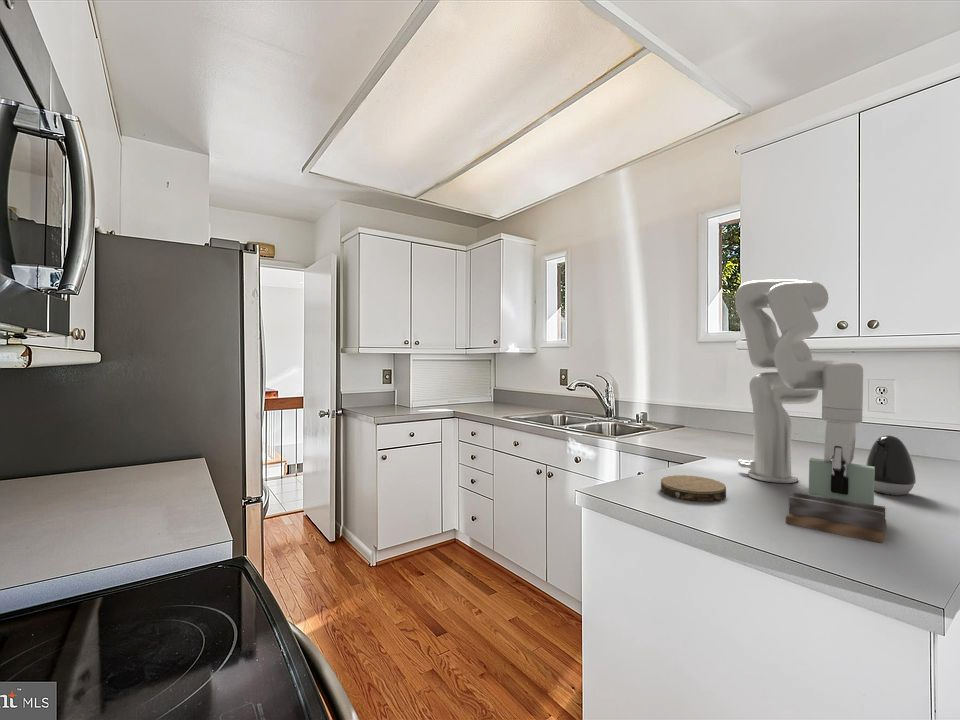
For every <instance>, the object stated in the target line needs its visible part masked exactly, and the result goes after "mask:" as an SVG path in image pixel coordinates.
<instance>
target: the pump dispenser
mask: <svg viewBox="0 0 960 720" xmlns="http://www.w3.org/2000/svg"><path fill="white" fill-rule="evenodd" d="M905 445H906V444H904V443H903V441H902V440H901V439H899V437H897V436H894V435H882V436H880V437H878V438H877V439H876V440H875V442H874V443H873V444H872V447H871V448H870V450H869V453H868V456H867V458H866V462H865V465H866V466H873V467H875V476H874V491H876V492H878V493H880V492H881V493H880V494H883V493H885V495H889V494H891V495H890V496H902V495H903V496H904V495H906V494H908V493H910V492H911V491H912V490H913V488H914V486H915V484H916V483H917V478H916V472H915V471H916V470H915V467H914V463H913V460H912V458H911V455H910V453H909V451H908V449H907V447H906V446H905Z"/></svg>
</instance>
